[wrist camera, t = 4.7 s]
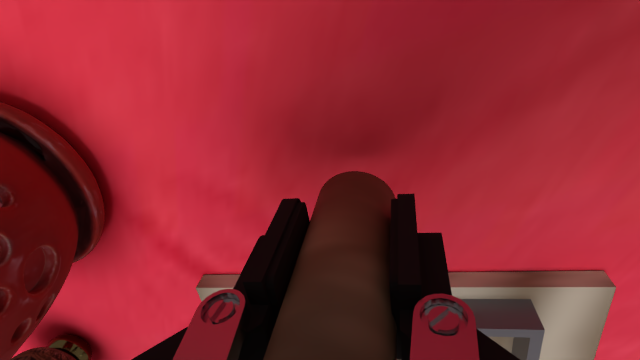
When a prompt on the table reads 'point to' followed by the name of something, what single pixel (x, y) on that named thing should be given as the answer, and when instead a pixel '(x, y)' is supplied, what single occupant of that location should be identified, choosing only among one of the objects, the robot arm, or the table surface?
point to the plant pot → (39, 221)
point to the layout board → (521, 309)
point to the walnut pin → (341, 278)
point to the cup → (59, 350)
